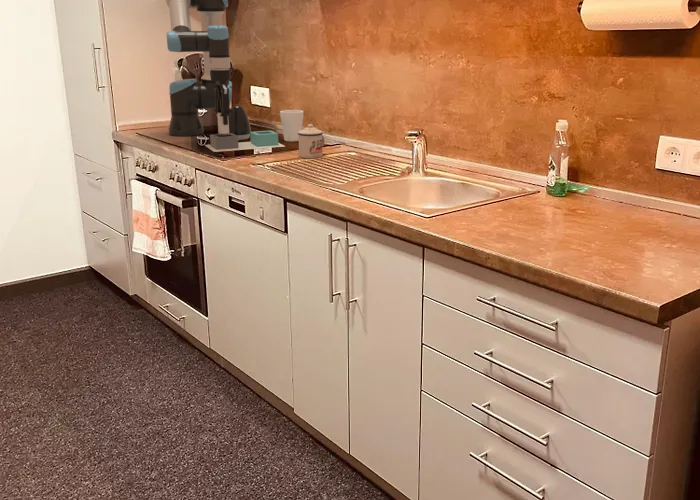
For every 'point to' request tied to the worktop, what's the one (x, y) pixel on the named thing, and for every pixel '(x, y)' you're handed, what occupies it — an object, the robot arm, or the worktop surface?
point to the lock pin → (220, 126)
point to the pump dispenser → (239, 122)
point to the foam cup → (291, 124)
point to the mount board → (232, 143)
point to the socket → (264, 138)
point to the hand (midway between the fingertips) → (223, 132)
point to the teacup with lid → (310, 142)
